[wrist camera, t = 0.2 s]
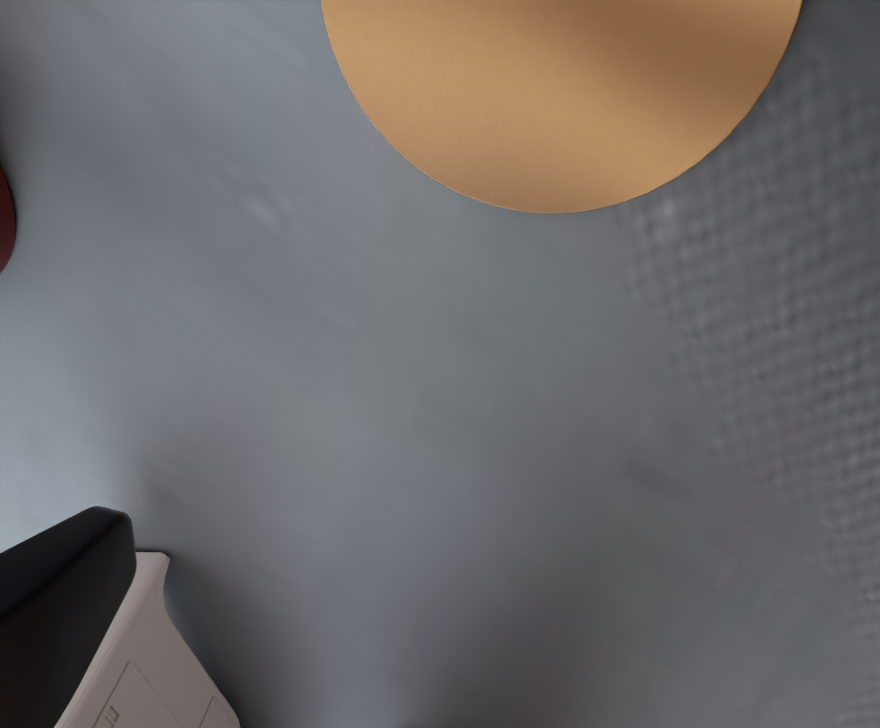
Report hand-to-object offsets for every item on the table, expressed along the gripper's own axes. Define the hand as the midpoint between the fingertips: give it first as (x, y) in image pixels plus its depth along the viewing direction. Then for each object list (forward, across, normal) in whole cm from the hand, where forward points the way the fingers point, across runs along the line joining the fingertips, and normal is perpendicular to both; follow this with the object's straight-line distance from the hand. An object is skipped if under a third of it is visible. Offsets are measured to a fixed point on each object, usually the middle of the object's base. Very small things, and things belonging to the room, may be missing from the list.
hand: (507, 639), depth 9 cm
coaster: (+15, +2, -5) cm, 16 cm away
